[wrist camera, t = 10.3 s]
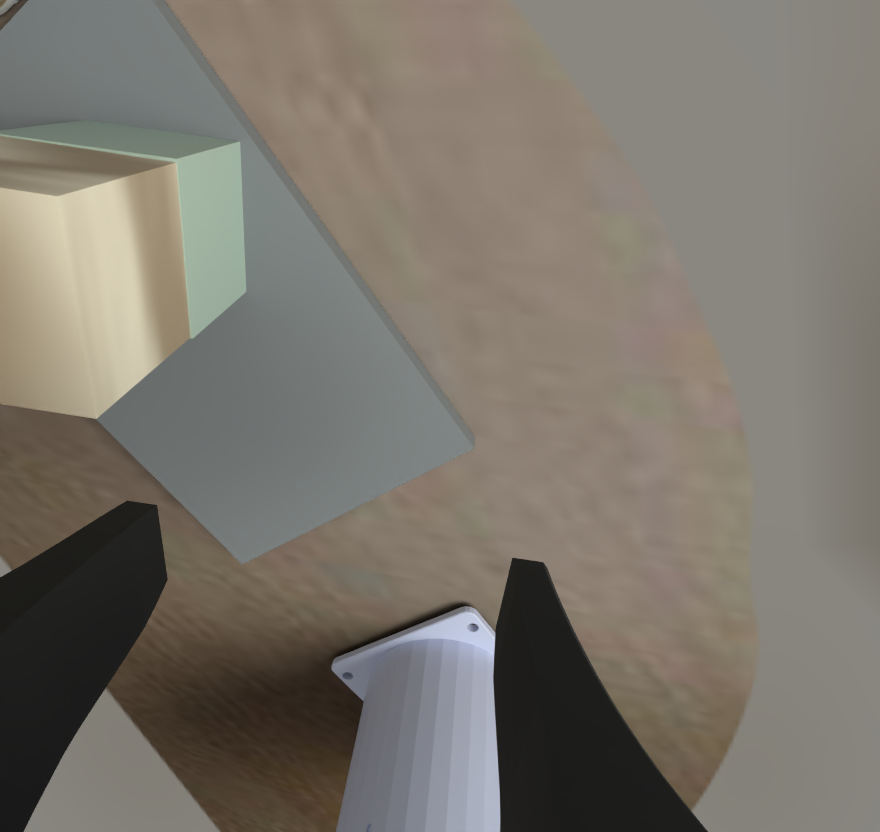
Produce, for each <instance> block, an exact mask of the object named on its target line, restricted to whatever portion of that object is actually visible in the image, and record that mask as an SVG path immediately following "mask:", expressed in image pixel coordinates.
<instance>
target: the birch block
mask: <svg viewBox="0 0 880 832" xmlns="http://www.w3.org/2000/svg"><path fill="white" fill-rule="evenodd" d="M189 338H190V328H189V315H188V303H187V290H186V278H185V265H184V253H183V240H182V228H181V216H180V203H179V191H178V178H177V166H176V162H170V161H163V160H157V159H150V158H143V157H137V156H130V155H124V154H117V153H111V152H104V151H97V150H91V149H84V148H78V147H71V146H64V145H58V144H51V143H45V142H38V141H32V140H25V139H18V138H12V137H5V136H0V404H4V405H10V406H17V407H23V408H30V409H36V410H43V411H49V412H55V413H62V414H68V415H75V416H81V417H88V418H94V419H97V418H98V417H99V416H100V415H102V414H103V413H104V412H105V411H106V410H107V409H108V408H110V407H111V406H112V405H113V404H114V403H115V402H117V401H118V400H119V399H120V398H121V397H122V396H123V395H125V394H126V393H127V392H128V391H129V390H130V389H132V388H133V387H134V386H135V385H136V384H137V383H138V382H140V381H141V380H142V379H143V378H144V377H145V376H147V375H148V374H149V373H150V372H151V371H152V370H153V369H155V368H156V367H157V366H158V365H159V364H160V363H162V362H163V361H164V360H165V359H166V358H167V357H168V356H170V355H171V354H172V353H173V352H174V351H175V350H177V349H178V348H179V347H180V346H181V345H182V344H183V343H185V342H186V341H187V340H188V339H189Z"/></svg>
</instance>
